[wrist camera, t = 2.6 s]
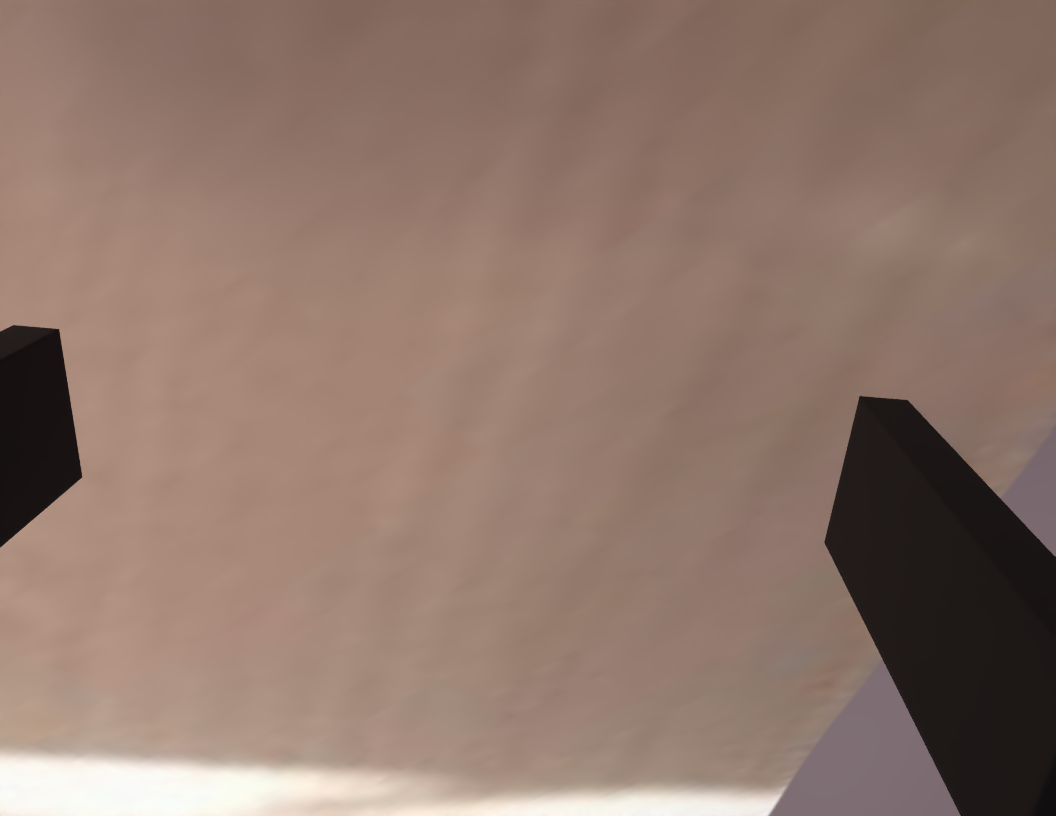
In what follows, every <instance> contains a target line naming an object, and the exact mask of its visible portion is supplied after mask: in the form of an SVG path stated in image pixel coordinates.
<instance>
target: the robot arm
mask: <svg viewBox="0 0 1056 816" xmlns="http://www.w3.org/2000/svg"><path fill="white" fill-rule="evenodd" d="M81 478H82V472H81V466H80V460H79V453H78V447H77V440H76V434H75V428H74V421H73V415H72V409H71V402H70V396H69V390H68V383H67V377H66V370H65V364H64V358H63V351H62V345H61V339H60V332H59V329H51V328H40V327H28V326H16V325H13V326H11V327H9V328H7V329H5V330H3V331H1V332H0V547H1V546H3V545H4V544H5V543H6V542H7V541H8V540H10V539H11V538H12V537H13V536H14V535H15V534H17V533H18V532H19V531H20V530H21V529H22V528H24V527H25V526H26V525H27V524H28V523H29V522H31V521H32V520H33V519H34V518H35V517H36V516H38V515H39V514H40V513H41V512H42V511H43V510H45V509H46V508H47V507H48V506H49V505H50V504H52V503H53V502H54V501H55V500H56V499H57V498H59V497H60V496H61V495H62V494H63V493H64V492H66V491H67V490H68V489H69V488H70V487H71V486H73V485H74V484H75V483H76V482H77V481H78V480H80V479H81ZM824 543H825V545H826V547H827V549H828V551H829V553H830V555H831V557H832V559H833V561H834V563H835V565H836V567H837V569H838V571H839V573H840V575H841V577H842V579H843V581H844V583H845V585H846V587H847V589H848V591H849V593H850V595H851V597H852V599H853V601H854V603H855V605H856V607H857V609H858V611H859V613H860V615H861V617H862V619H863V621H864V623H865V625H866V627H867V629H868V631H869V633H870V635H871V637H872V639H873V641H874V643H875V645H876V647H877V649H878V651H879V653H880V655H881V657H882V659H883V661H884V663H885V664H886V667H887V669H888V671H889V673H890V675H891V677H892V679H893V681H894V683H895V685H896V687H897V689H898V691H899V693H900V695H901V697H902V699H903V701H904V703H905V705H906V707H907V709H908V711H909V713H910V715H911V717H912V719H913V721H914V723H915V725H916V727H917V729H918V731H919V733H920V735H921V737H922V739H923V741H924V743H925V745H926V747H927V749H928V751H929V753H930V755H931V757H932V759H933V761H934V763H935V765H936V767H937V769H938V771H939V773H940V775H941V777H942V779H943V781H944V783H945V785H946V787H947V789H948V791H949V793H950V795H951V797H952V799H953V801H954V803H955V805H956V807H957V809H958V811H959V813H960V815H961V816H1056V557H1055V556H1054V555H1053V554H1052V553H1051V552H1050V551H1049V550H1048V549H1047V548H1046V547H1045V546H1044V545H1043V544H1042V543H1041V542H1040V540H1039V539H1038V538H1037V537H1036V536H1035V535H1034V534H1033V533H1032V532H1031V531H1030V530H1029V529H1028V528H1027V527H1026V526H1025V524H1024V523H1023V522H1022V521H1021V520H1020V519H1019V518H1018V517H1017V516H1016V515H1015V514H1014V513H1013V512H1012V511H1011V510H1010V508H1009V507H1008V506H1007V505H1006V504H1005V503H1004V502H1003V501H1002V500H1001V499H1000V498H999V497H998V496H997V495H996V494H995V493H994V491H993V490H992V489H991V488H990V487H989V486H988V485H987V484H986V483H985V482H984V481H983V480H982V479H981V478H980V477H979V476H978V474H977V473H976V472H975V471H974V470H973V469H972V468H971V467H970V466H969V465H968V464H967V463H966V462H965V461H964V460H963V459H962V457H961V456H960V455H959V454H958V453H957V452H956V451H955V450H954V449H953V448H952V447H951V446H950V445H949V444H948V443H947V442H946V440H945V439H944V438H943V437H942V436H941V435H940V434H939V433H938V432H937V431H936V430H935V429H934V428H933V427H932V426H931V425H930V423H929V422H928V421H927V420H926V419H925V418H924V417H923V416H922V415H921V414H920V413H919V412H918V411H917V410H916V409H915V408H914V406H913V405H912V404H911V403H910V402H909V401H908V400H899V399H887V398H875V397H863V396H860V397H859V401H858V405H857V409H856V414H855V418H854V422H853V426H852V430H851V434H850V439H849V443H848V447H847V451H846V455H845V459H844V463H843V468H842V472H841V476H840V480H839V484H838V488H837V492H836V497H835V501H834V505H833V509H832V513H831V517H830V522H829V526H828V530H827V534H826V538H825V542H824Z"/></svg>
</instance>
